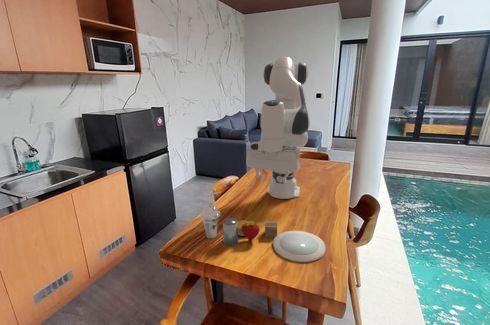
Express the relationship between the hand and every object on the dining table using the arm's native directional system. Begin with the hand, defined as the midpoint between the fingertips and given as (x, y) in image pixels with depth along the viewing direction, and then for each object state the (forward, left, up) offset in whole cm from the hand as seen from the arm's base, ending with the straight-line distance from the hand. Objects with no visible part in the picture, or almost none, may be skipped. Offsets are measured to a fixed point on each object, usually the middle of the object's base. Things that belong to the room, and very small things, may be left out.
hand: (271, 180), depth 101 cm
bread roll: (-3, -17, -26) cm, 32 cm away
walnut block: (-5, -2, -26) cm, 27 cm away
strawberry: (+3, -8, -26) cm, 27 cm away
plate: (-1, +11, -26) cm, 28 cm away
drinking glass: (+7, -15, -26) cm, 31 cm away
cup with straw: (+6, -24, -26) cm, 36 cm away
